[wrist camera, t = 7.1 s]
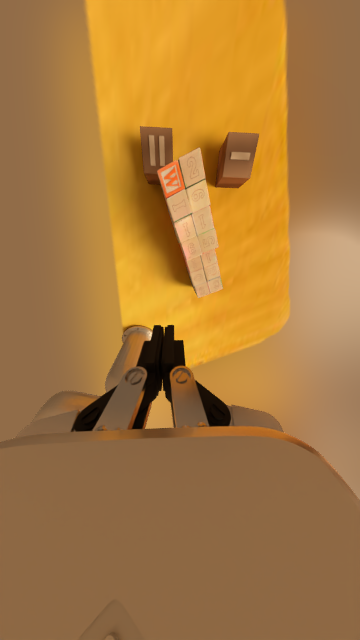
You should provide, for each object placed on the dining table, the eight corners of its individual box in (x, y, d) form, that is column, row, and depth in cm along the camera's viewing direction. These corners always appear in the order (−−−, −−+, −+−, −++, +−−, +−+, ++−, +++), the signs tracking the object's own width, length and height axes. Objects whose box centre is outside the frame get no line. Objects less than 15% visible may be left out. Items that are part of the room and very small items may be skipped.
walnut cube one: (238, 188, 27) (250, 177, 23) (215, 187, 27) (223, 176, 23) (244, 152, 25) (260, 132, 20) (219, 151, 25) (229, 131, 20)
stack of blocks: (213, 279, 37) (227, 294, 27) (192, 287, 38) (199, 304, 28) (190, 182, 27) (200, 144, 16) (163, 196, 28) (156, 168, 17)
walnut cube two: (172, 185, 27) (172, 173, 22) (149, 184, 27) (143, 172, 22) (172, 148, 24) (172, 127, 20) (146, 147, 24) (139, 125, 20)
